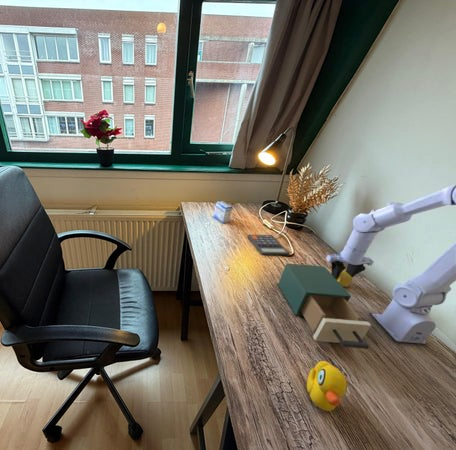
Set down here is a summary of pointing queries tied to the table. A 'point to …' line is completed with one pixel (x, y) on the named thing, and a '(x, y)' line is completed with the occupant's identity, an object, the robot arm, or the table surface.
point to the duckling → (326, 385)
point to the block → (344, 279)
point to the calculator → (268, 245)
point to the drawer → (335, 321)
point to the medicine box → (223, 211)
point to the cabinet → (308, 284)
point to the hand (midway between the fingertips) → (339, 278)
